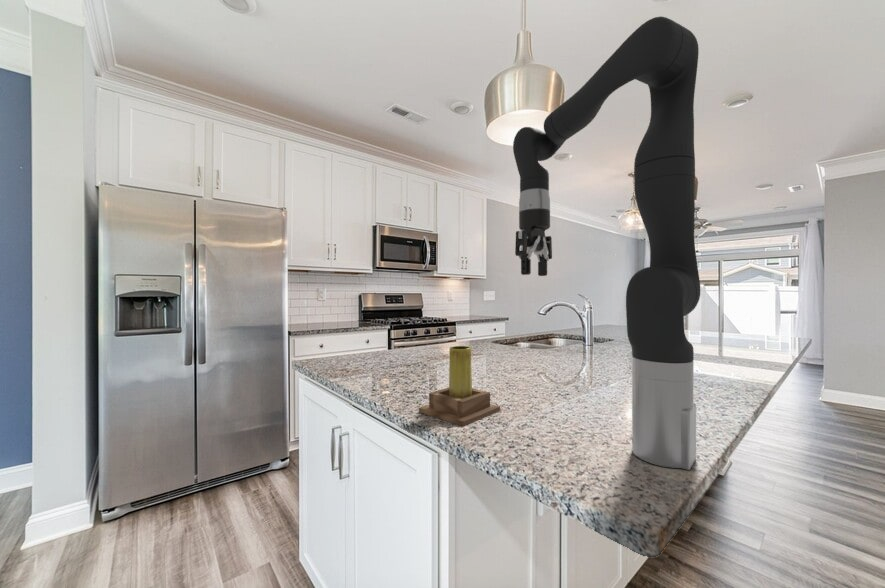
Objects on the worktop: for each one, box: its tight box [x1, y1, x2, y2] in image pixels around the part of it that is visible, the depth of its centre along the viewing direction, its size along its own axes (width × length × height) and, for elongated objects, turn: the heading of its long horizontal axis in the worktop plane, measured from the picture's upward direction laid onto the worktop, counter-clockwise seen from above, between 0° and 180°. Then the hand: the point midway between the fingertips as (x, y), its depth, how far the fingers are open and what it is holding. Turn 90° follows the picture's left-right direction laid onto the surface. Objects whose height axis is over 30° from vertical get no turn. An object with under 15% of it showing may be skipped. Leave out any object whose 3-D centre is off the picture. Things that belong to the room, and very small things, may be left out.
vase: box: [448, 345, 473, 399], centre depth 89 cm, size 6×6×14 cm
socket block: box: [418, 387, 501, 427], centre depth 89 cm, size 14×14×4 cm
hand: (534, 275), depth 92 cm, fingers open, 8 cm apart
